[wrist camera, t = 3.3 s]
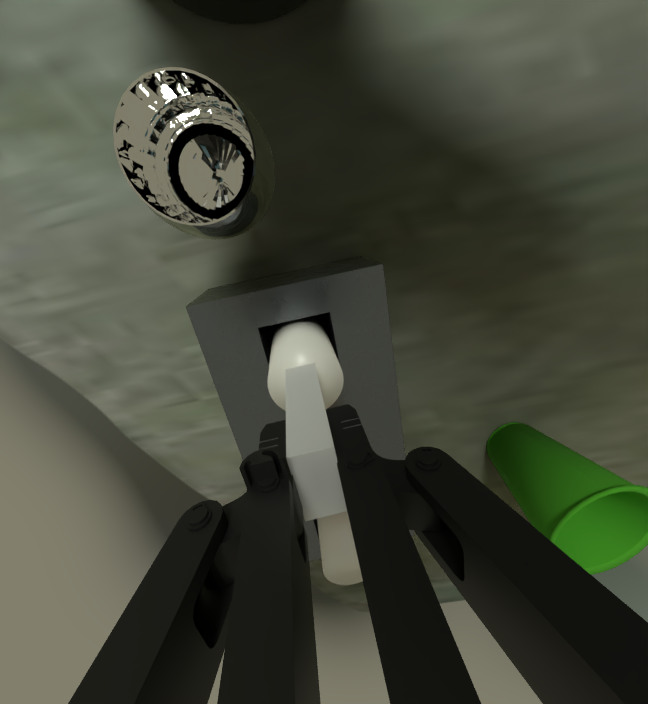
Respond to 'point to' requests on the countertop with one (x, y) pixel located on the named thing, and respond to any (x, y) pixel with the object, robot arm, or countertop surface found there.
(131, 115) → the wineglass
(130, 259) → the countertop surface
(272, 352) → the white plug
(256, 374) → the grey socket block
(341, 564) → the white plug
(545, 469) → the cup
